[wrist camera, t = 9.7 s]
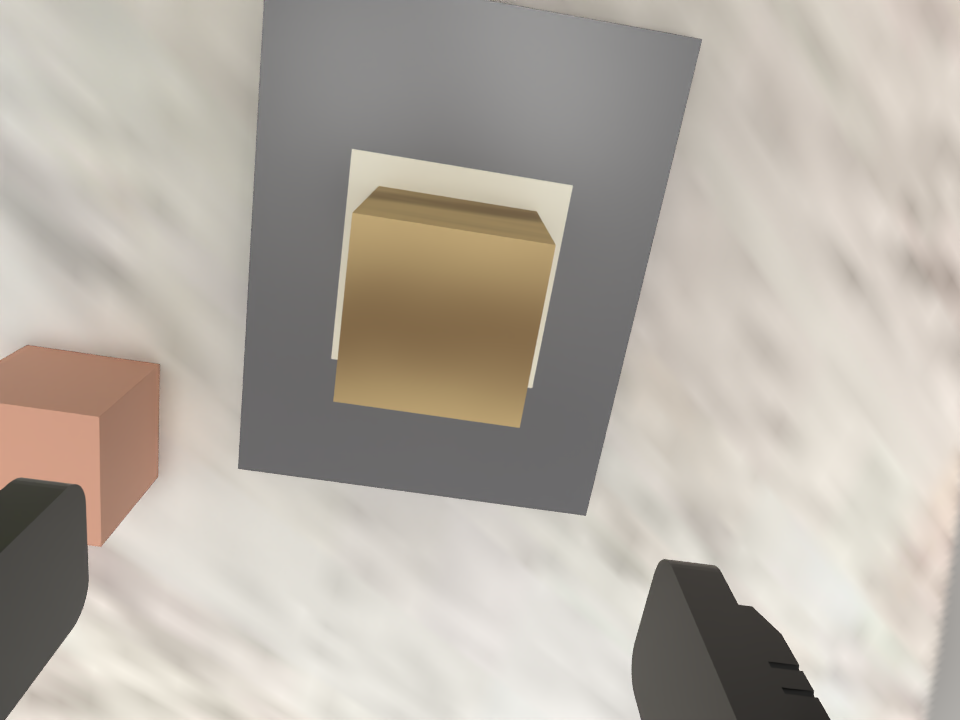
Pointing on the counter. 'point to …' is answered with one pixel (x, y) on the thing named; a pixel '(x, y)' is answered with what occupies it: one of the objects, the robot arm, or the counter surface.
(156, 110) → the counter surface
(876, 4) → the counter surface
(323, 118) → the grey flat slab
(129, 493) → the terracotta block
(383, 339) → the ochre block
